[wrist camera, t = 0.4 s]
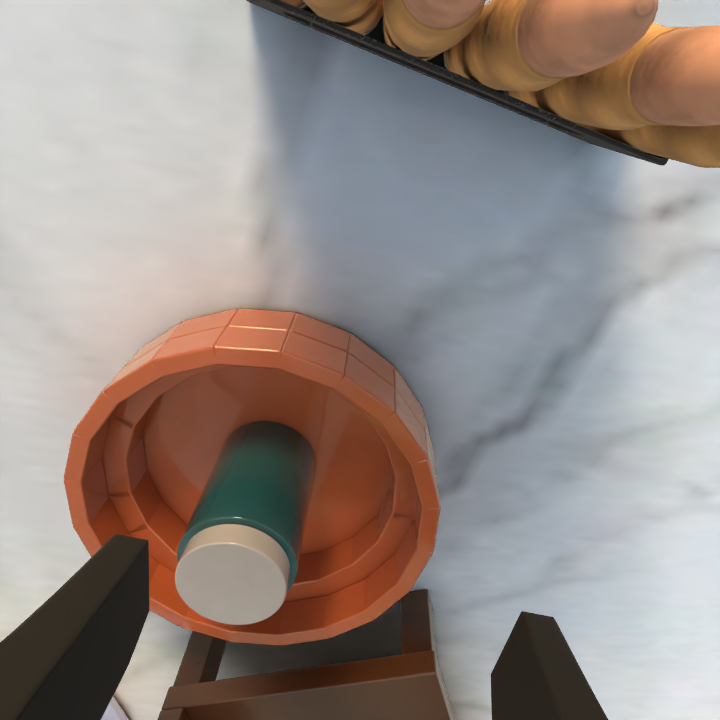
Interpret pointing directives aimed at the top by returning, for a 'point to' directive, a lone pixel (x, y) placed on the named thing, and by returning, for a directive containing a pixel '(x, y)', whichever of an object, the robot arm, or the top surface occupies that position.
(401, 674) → the chair
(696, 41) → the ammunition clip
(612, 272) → the top surface
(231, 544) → the salt shaker
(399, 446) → the bowl
